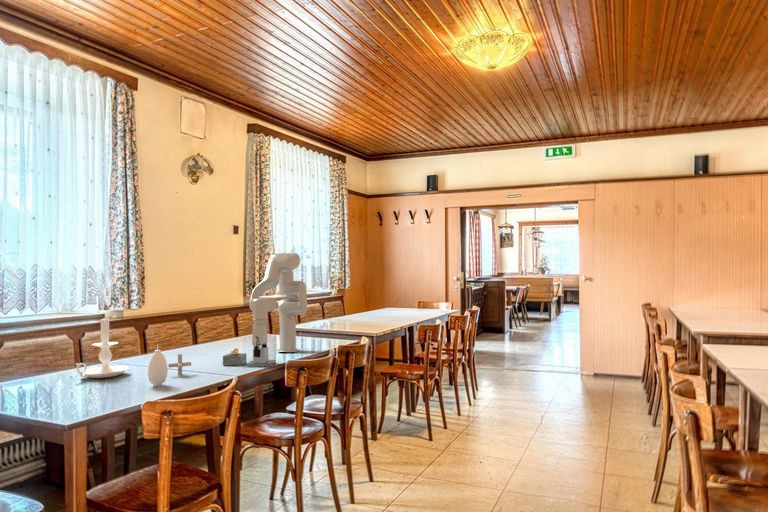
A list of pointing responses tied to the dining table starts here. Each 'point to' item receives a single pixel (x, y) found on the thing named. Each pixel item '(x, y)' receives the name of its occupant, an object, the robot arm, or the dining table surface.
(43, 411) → the dining table surface
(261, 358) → the block
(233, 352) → the brass pin
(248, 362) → the press bed
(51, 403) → the dining table surface
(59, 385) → the dining table surface
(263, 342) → the robot arm
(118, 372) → the candlestick
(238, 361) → the block
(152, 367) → the egg shaped candle
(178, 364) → the pipe connector
